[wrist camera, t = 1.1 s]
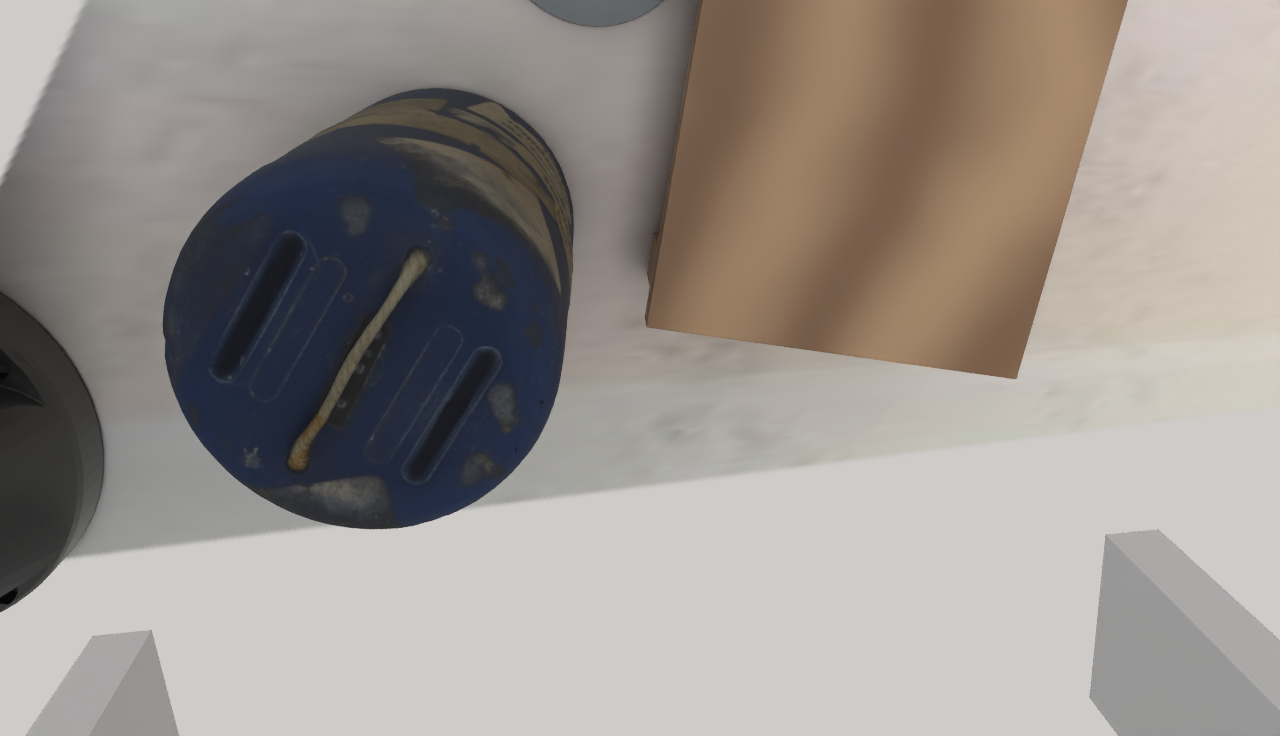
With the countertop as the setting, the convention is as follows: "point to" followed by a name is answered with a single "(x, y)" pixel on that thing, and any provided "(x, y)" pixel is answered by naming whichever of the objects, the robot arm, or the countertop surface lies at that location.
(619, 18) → the slate coaster
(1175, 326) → the countertop surface
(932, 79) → the step stool
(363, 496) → the canister
